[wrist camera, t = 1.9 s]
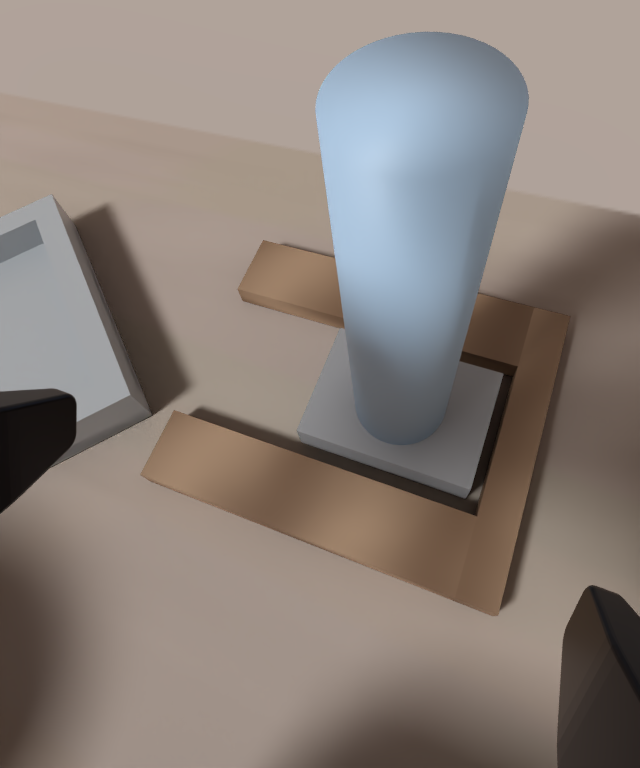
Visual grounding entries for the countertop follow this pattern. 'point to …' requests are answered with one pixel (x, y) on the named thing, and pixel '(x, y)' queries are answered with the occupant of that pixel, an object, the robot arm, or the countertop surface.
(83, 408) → the tray
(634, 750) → the robot arm
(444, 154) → the tall blue pillar
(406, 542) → the slot
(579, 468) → the countertop surface
